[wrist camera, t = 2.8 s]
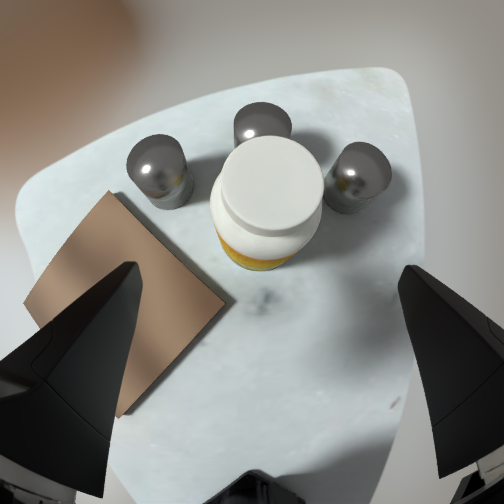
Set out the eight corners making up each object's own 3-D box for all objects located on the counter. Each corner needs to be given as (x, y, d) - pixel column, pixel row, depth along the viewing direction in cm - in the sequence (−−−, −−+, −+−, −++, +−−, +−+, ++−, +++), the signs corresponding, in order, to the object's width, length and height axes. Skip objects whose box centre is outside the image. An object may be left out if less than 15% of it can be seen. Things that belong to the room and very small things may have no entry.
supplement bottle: (221, 196, 20) (207, 118, 11) (295, 198, 21) (334, 125, 11) (218, 272, 20) (197, 246, 10) (297, 273, 20) (346, 249, 10)
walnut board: (122, 415, 17) (118, 418, 17) (28, 303, 18) (23, 303, 18) (225, 303, 19) (225, 303, 18) (112, 193, 20) (108, 190, 19)
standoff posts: (367, 215, 21) (395, 195, 16) (144, 210, 20) (122, 187, 16) (358, 145, 22) (379, 116, 17) (154, 138, 21) (139, 106, 17)
